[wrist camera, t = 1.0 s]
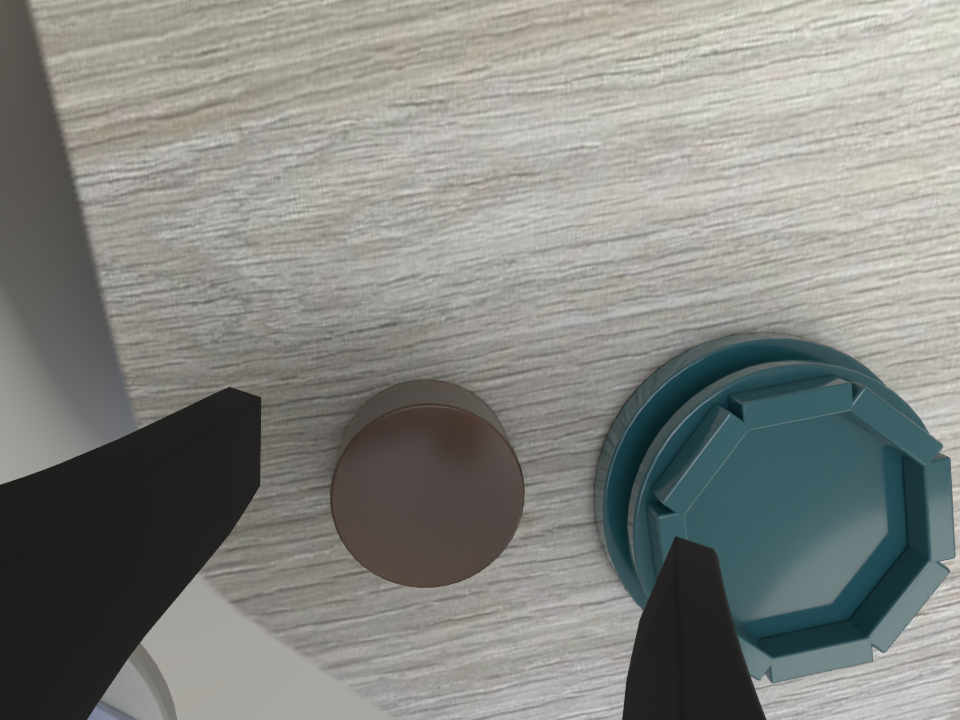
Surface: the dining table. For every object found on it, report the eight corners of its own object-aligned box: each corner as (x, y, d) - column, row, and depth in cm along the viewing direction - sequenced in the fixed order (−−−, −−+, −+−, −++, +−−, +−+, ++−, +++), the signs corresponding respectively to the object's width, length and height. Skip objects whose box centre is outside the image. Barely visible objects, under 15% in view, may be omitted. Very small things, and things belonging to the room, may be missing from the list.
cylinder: (446, 573, 25) (452, 622, 22) (304, 486, 24) (291, 525, 21) (543, 440, 25) (563, 472, 22) (402, 345, 24) (403, 365, 21)
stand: (768, 683, 27) (831, 764, 23) (530, 530, 25) (554, 590, 21) (958, 445, 26) (1056, 487, 22) (724, 267, 24) (787, 279, 20)
